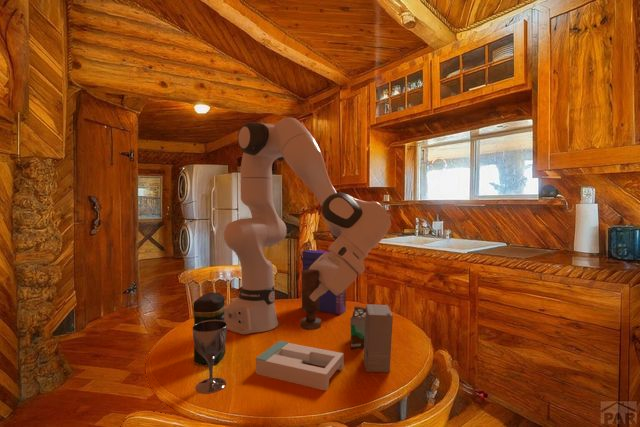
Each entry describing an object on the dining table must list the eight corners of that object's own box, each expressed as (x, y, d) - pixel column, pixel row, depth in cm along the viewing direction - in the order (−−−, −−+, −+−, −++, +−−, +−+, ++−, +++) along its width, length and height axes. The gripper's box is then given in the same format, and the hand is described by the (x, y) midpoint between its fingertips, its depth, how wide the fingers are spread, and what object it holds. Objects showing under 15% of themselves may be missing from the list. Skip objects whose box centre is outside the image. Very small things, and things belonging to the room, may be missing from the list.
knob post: (296, 328, 86) (296, 272, 85) (306, 321, 91) (305, 268, 90) (315, 331, 84) (315, 274, 83) (324, 324, 88) (323, 270, 88)
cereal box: (345, 311, 139) (345, 252, 137) (340, 315, 134) (340, 254, 133) (309, 305, 147) (308, 249, 146) (303, 308, 143) (302, 250, 142)
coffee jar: (219, 366, 94) (217, 299, 93) (190, 367, 94) (188, 299, 93) (229, 351, 104) (227, 290, 103) (202, 351, 104) (201, 290, 103)
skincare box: (363, 358, 98) (362, 303, 98) (388, 358, 98) (388, 303, 97) (366, 373, 90) (365, 313, 89) (393, 373, 90) (393, 313, 89)
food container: (371, 352, 102) (371, 319, 101) (350, 351, 103) (350, 318, 102) (373, 336, 114) (373, 306, 113) (354, 334, 115) (354, 305, 114)
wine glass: (198, 377, 88) (197, 320, 88) (230, 376, 89) (229, 319, 88) (189, 395, 80) (188, 332, 80) (224, 393, 81) (223, 331, 80)
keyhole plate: (256, 373, 90) (255, 358, 90) (279, 354, 101) (279, 340, 101) (326, 390, 82) (326, 373, 82) (343, 367, 93) (343, 352, 93)
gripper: (325, 242, 98) (291, 278, 96) (350, 253, 78) (308, 299, 76) (340, 256, 99) (307, 292, 97) (368, 271, 80) (328, 316, 78)
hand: (308, 295), depth 87 cm, fingers closed on knob post, 4 cm apart
